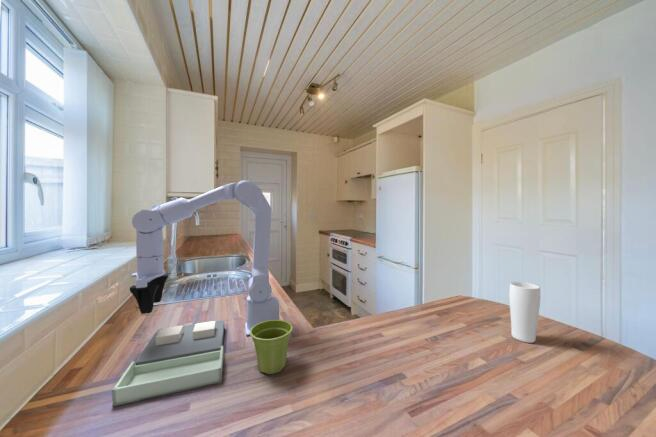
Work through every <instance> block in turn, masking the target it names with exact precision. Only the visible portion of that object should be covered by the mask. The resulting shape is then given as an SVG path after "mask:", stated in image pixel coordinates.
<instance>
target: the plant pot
mask: <svg viewBox="0 0 656 437" xmlns="http://www.w3.org/2000/svg"><path fill="white" fill-rule="evenodd" d="M292 331H293V325H292V323H290V322H289V321H286V320H283V319H279V320H268V321H264V322H261V323H258V324H256V325H255V326H253V327H252V328H251V330H250V335H249V336H250V337H251V338H252V342H253V343H254V350H255V355H256V362H257V368H258V370H259V372H260V373H265V374H266V375H271V374H272V375H274V374H277V373H280V372H281V371H282V370H283V369H284V368H285V367H286V365H287V357H288V348H289V340H290V337H291V333H292Z"/></svg>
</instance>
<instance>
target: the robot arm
mask: <svg viewBox="0 0 656 437" xmlns="http://www.w3.org/2000/svg"><path fill="white" fill-rule="evenodd" d="M234 199H236V201H238V203H240V204H242V205H245V206H246V207H247V208H248V209H249V210H250V211H251V212H252V213H253V214H254V216H255V217H254V227H253V228H254V231H253V232H254V233H253V247H252V248H253V249H252V265H251V274H250V276H249V279H248V281H247V288H248V296H247V297H246V322H245V323H244V325H245V326H244V328H245V336H251V335H250V330H251V328H252V327H253V326H255V325H256V324H258V323H261V322H264V321H268V320H280V302H279V297H278V296H272V292H273V290H272V286H271V283H270V274H269V273H270V272H269V271H270V270H269V259H270V241H271V222H272V207H271V205H270V204H269V201H268V199H266V196H265V195H264V193H263V190H262V189H261V188H260V187H259V186H258V185H257V184H255V182H254V181H252V180H248V179H243V180H239V181H238V182H237V183H236V181H235V182H232V183H228V184H224V185H221V186H219V187H217V188H214V189H212V190H209V191H207V192H204V193H202V194H200V195H197V196H194V197H192V198H190V199H187V198H184V197H177V196H174V197H172V198H170V201H167V202H165V203H162V204H160V205H157V204H154V205H152V206H151V208H152V209H146V208H143V209H141V210H140V211H137V212H136V213H135V214H134V215H133V217H132V220H131V223H132V226H133V228H134V229H135V233H136V234H135V235H136V236H135V237H136V238H135V242H136V243H135V244H136V245H135V247H136V249H135V250H136V272H134V273H132V274H131V275H130V276H131V278H136V279H135V284H134V285H131V286H130V287H129V292H130V293H131V295H132V296H133V297H134V298H135V300H136V303H137V305H138V309H139V312H140V314H141V315H143V314H150V313H152V312H153V310H154V303H161V301H162V297H163V294H164V293H163V292H164V288H165V285H166V282H167V280H168V278H169V273H166V271H165V263H164V261H165V260H164V259H165V258H164V257H165V256H164V236H163V235H164V234H163V229H164V228H165V226H166V227H169V226H171V225H174V224H175V223H179V222H181V221H184V220H186V219H189V218H191V217H192V216H193V214H194V212H195V210H199V209H201V208H205V207H207V206H210V205H212V204H215V203H218V202H221V201H231V202H233V201H234Z"/></svg>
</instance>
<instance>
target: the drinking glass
mask: <svg viewBox="0 0 656 437" xmlns="http://www.w3.org/2000/svg"><path fill="white" fill-rule="evenodd" d="M508 304H509V313H510V314H509V316H510V325H511V327H510V329H511V332H510V334H511V336H512V337H513V339H515V340H517V341H520V342H523V343H527V344H530V343H535V342H536V340H537V327H538V322H539V321H538V320H539V314H540V309H541V308H540V306H541V287H540V286H539V285H536V284H534V283H530V282H525V281H524V282H523V281H511V282H509V287H508Z"/></svg>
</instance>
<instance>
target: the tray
mask: <svg viewBox="0 0 656 437" xmlns="http://www.w3.org/2000/svg"><path fill="white" fill-rule="evenodd" d="M223 365H224V345H222V346H221V350H219V351H214V352H208V353H203V354H197V355H192V356H186V357H181V358H175V359H170V360H164V361H158V362H153V363H147V364H142V365H136V361H135V360H134V361H131V362H130V364H129V366H128V367H127V368H126V370H125V371H124V372H123V374H122V376H121V377H120V378H119V380H118V381H117V383H116V384H115V386H114V387H113V389H111V390H112V392H111V394H112V407H116V406H120V405H121V406H122V405H126V404H130V403H135V402H138V401H143V400H147V399H153V398H157V397H162V396H165V395H170V394H175V393H180V392H184V391H185V392H186V391H188V390H193V389H198V388H201V387H202V388H203V387H207V386H212V385H216V384H221V383H222V380H223V379H222V378H223V367H224V366H223Z"/></svg>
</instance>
